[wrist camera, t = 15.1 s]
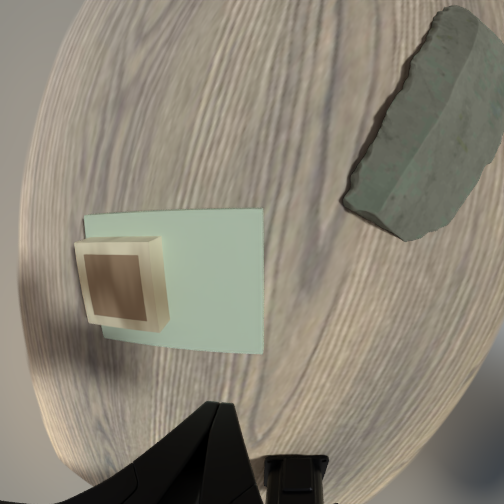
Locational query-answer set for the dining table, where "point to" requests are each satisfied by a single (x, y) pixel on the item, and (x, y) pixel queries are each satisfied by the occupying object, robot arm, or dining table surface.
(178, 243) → the mat
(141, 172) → the dining table surface
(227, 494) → the robot arm
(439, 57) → the stone slab
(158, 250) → the beige flat box
